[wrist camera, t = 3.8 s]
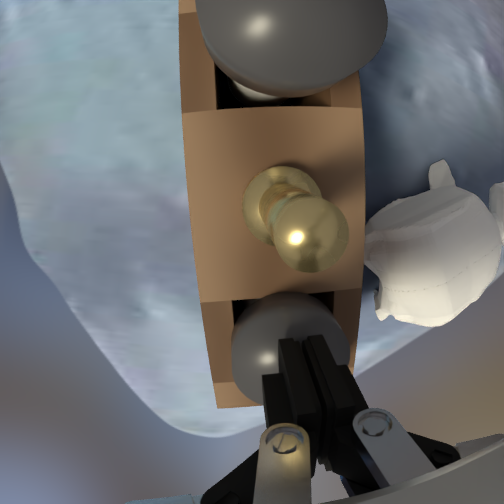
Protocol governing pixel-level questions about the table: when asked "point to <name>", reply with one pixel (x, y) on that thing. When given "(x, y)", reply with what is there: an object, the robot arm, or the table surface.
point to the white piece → (434, 250)
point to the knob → (289, 44)
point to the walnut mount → (236, 180)
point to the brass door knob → (295, 219)
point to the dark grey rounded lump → (279, 336)
